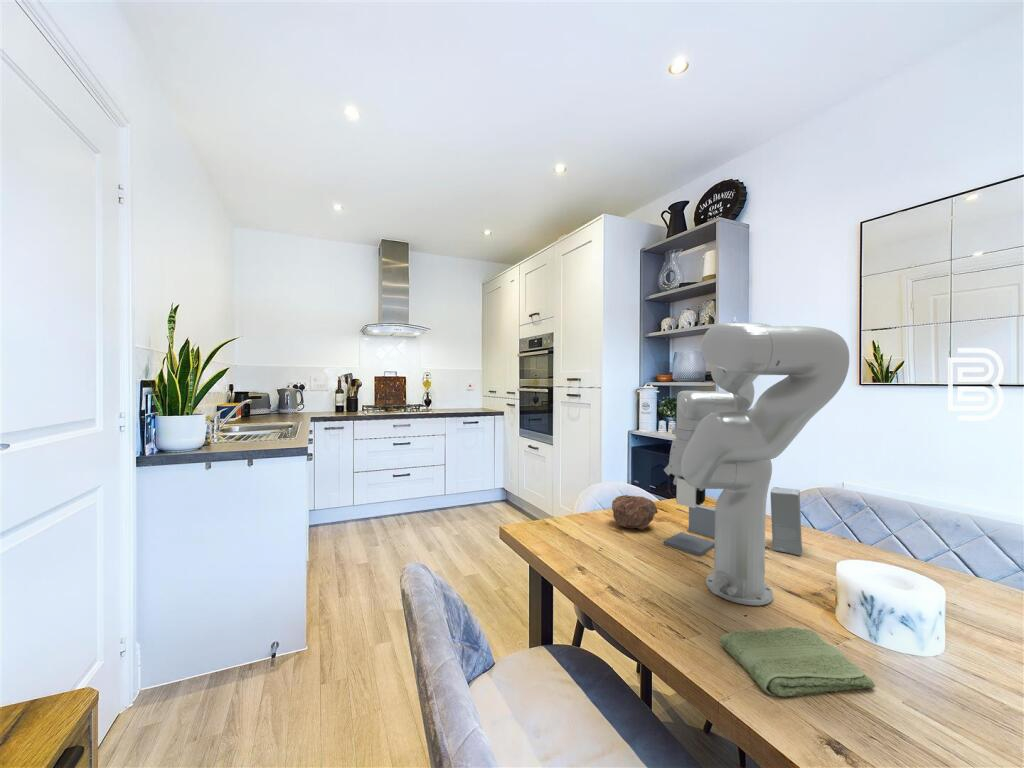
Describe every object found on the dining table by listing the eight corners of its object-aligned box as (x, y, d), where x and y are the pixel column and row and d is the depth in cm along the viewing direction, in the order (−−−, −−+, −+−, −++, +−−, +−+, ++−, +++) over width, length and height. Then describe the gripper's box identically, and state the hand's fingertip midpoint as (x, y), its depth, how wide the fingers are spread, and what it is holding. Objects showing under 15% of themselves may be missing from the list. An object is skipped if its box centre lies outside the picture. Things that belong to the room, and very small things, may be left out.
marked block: (694, 508, 109) (695, 481, 109) (676, 503, 113) (676, 477, 113) (702, 504, 112) (703, 478, 112) (684, 499, 116) (685, 474, 116)
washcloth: (881, 695, 60) (881, 673, 60) (769, 704, 58) (769, 681, 58) (807, 638, 73) (807, 620, 73) (714, 644, 71) (714, 626, 71)
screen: (734, 544, 113) (735, 515, 113) (688, 531, 123) (688, 504, 122) (737, 542, 114) (738, 514, 114) (691, 529, 124) (691, 503, 124)
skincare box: (801, 557, 105) (802, 495, 105) (768, 549, 109) (769, 491, 109) (802, 546, 112) (803, 488, 112) (771, 540, 116) (772, 484, 116)
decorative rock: (662, 528, 125) (662, 495, 125) (643, 537, 117) (643, 503, 117) (624, 517, 135) (624, 487, 135) (604, 525, 127) (605, 493, 127)
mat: (700, 556, 105) (700, 552, 105) (663, 544, 113) (663, 540, 113) (716, 545, 112) (716, 542, 112) (680, 535, 119) (680, 531, 119)
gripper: (655, 433, 116) (653, 496, 116) (717, 441, 103) (715, 512, 104) (668, 430, 121) (666, 491, 121) (729, 438, 108) (727, 506, 109)
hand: (689, 500), depth 113 cm, fingers closed on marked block, 5 cm apart
